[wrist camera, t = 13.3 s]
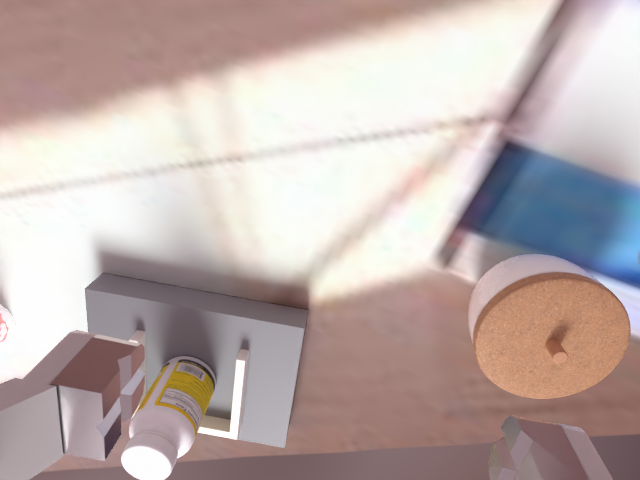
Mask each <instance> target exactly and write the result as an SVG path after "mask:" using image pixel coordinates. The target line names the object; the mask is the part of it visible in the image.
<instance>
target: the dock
mask: <svg viewBox="0 0 640 480" xmlns="http://www.w3.org/2000/svg"><path fill="white" fill-rule="evenodd" d="M85 296H86V309H87V322H88V333H92V334H96V335H103V336H108V337H112V338H117V339H121V340H126V341H131V342H135V343H140V344H142V345H143V346H144V347H145V359H144V361H143V362H142V364H141V365H140V369H141V370H142V371H143V373H144V374H145V384H144V390H143V395H142V397H141V400H140V403H139V405H138V407H139V406H140V404H141V402H142V401H143V399H144V397H145V396H146V394H147V392H148V391H149V389H150V387H151V386H152V384H153V382H154V381H155V379H156V377H157V376H158V374H159V372H160V371H161V369H162V368H163V366H164V365H165V364H166V363H167V362H168V361H169V360H171V359H173V358H175V357H179V356H190V357H194V358H197V359H199V360H201V361H203V362H204V363H206V364H207V365H208V366H209V367H210V368H211V370H212V371H213V373H214V375H215V379H216V386H215V390H214V393H213V395H212V398H211V400H210V403H209V405H208V408H207V410H206V412H205V415H204V417H203V420H202V422H201V425H200V427H199V430H198V432H199V433H204V434H209V435H215V436H220V437H225V438H231V439H236V440H237V439H239V440H244V441H249V442H255V443H260V444H266V445H271V446H276V447H282V448H285V444H286V439H287V433H288V428H289V423H290V417H291V411H292V405H293V399H294V393H295V387H296V381H297V375H298V369H299V363H300V357H301V351H302V345H303V339H304V333H305V327H306V321H307V315H308V310H305V309H299V308H294V307H288V306H283V305H277V304H272V303H266V302H261V301H255V300H249V299H244V298H238V297H233V296H227V295H222V294H216V293H211V292H205V291H200V290H194V289H189V288H183V287H177V286H172V285H166V284H161V283H155V282H150V281H144V280H139V279H133V278H128V277H122V276H116V275H111V274H105V273H102V274H101V275H100V276H99V277H98V278H97V279H95V280H94V281H93V282H92V283H91V284H90V285H89V286H88V287H86V288H85ZM137 409H138V408H137ZM137 409H136V411H137ZM136 411H135V412H136ZM134 414H135V413H134ZM134 414H133V416H134ZM133 416H132V418H133ZM132 418H130V419H132Z"/></svg>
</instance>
